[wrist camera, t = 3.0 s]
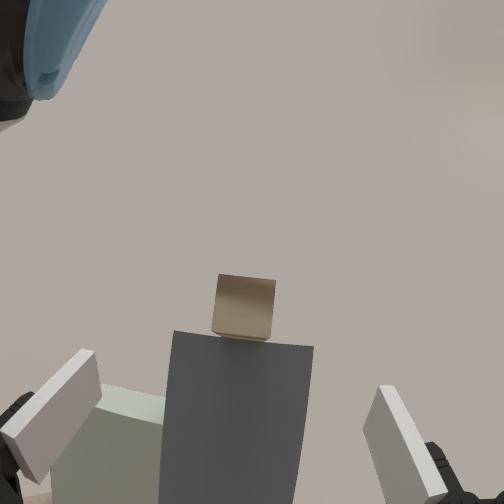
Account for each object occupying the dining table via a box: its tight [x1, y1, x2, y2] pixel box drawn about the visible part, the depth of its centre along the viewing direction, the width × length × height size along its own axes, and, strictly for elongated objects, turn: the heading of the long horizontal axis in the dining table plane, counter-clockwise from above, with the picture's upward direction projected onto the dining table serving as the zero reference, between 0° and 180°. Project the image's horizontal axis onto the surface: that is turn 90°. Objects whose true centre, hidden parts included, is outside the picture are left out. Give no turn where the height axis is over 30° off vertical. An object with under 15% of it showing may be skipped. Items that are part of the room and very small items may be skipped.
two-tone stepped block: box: [50, 331, 314, 504], centre depth 34 cm, size 16×28×30 cm, turn 91°
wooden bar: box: [211, 274, 276, 342], centre depth 33 cm, size 24×4×4 cm, turn 1°
